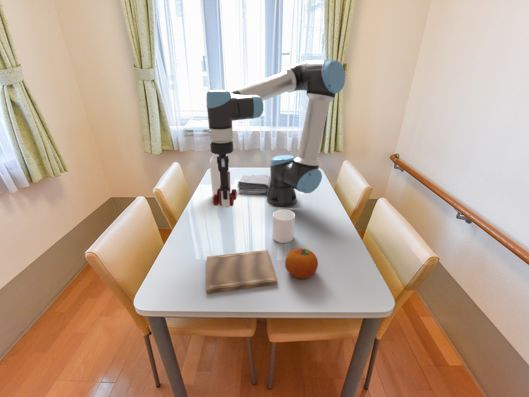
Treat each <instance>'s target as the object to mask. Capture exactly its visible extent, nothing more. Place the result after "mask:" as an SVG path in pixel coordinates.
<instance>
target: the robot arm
mask: <svg viewBox="0 0 529 397" xmlns="http://www.w3.org/2000/svg"><path fill="white" fill-rule="evenodd" d="M345 83H346V71H345V68H344V66H343V65H342V63H341V62H340V61H339V60H335V59H318V60H311V59H310V60H305V61H301V62H299V63H295V64H294V65H292V66H288V67H286V68H284V69H282V71H281V72H280V73H276V74H274V75H272V76H268V77H265V78H262V79H260V80H257V81H254V82H251V83H248V84H246V85H243V86H241V87H238V88H235V89H231V90H228V89H210V90H208V91H207V92H206V109H207V110H206V111H207V120H208V129H209V130H207V134H209V139H210V142H209V144H210V152H211V153H212V154H213V153H214V154H218V155H219V156H217V164H218V171H220V181H221V189H219V191H221V201H222V206H221V208H230V207H231V206H230V200H229V188H228V173H227V171H229V162H230V160H229V155H230V154H231V153H233V152H234V141H233V139H234V136H233V134H234V133H233V122H234V121H242V120H254V119H257V118H260V117H261V116H262V114H263V113H264V101H266V100H269V99H271V98H273V97H276V96H279V95H281V94H285V93H286V92H287V93H293V92H296V91H306V93H305V94H306V96H307V98H308V102H307V108H306V113H305V117H304V124H303V128H302V131H301V132H302V133H301V136H300V141H299V146H298V152H297V155H296V157H295V156H294V155H291V154H283V155H276V156H274V157H272V158H271V160H270V164H269V166H270V167H269V168H270V169H269V170H270V175H269V176H270V177H271V184H270V188H269V191H268V194H266V201H267V203H268V204H270V205H273V206H276V207H290V206H293V205H294V204H295V203H297V193H296V191H297V192H300V193H304V194H312V193H313V192H314V191H315V190H316V189H318V188H319V186H320V184H321V182H322V179H323V174H322V171H321V170H320V169H319V166H320V163H319V162H318V156H319V151H320V147H321V143H322V139H323V134H324V129H325V125H326V121H327V116H328V111H329V108H330V103H331V102H332V101H333V100H335V99H336V98H335V97H336V94H338V93H340V92H341V91H342V90H343V88H344V86H345ZM227 154H229V155H227ZM295 190H296V191H295Z"/></svg>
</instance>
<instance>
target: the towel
mask: <svg viewBox="0 0 529 397" xmlns="http://www.w3.org/2000/svg"><path fill="white" fill-rule="evenodd" d="M270 184H271V175H267V174H255V175H246V174H245V175H242V177H241V179H240V180H239V181H238V182H237V194H247V195H248V194H249V195H252V194H253V195H255V194H256V195H257V194H259V195H260V194H264V195H265V194H266V195H267V194H268V191H269V188H270Z"/></svg>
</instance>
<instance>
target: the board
mask: <svg viewBox="0 0 529 397" xmlns="http://www.w3.org/2000/svg"><path fill="white" fill-rule="evenodd" d="M205 281H206V283H205V287H206V288H205V292H206V294H214V293H220V292H228V291H238V290H243V289H244V290H245V289H250V288H251V289H252V288H260V287H268V286H275V285H278V278H277V275H276V272H275V269H274V265H273V262H272V259H271V256H270V253H269V250H268V249H266V250H264V249H263V250H258V251H257V250H256V251H249V252H248V251H246V252H239V253H228V254H220V255H210V256H206V280H205Z"/></svg>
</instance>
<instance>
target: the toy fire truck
mask: <svg viewBox="0 0 529 397" xmlns="http://www.w3.org/2000/svg"><path fill="white" fill-rule="evenodd" d="M227 173H228V188H229V200H230V207H233V206H234V202H235V201H236V200H237V195H238V190H237V189H236V188H232V189H231V172H230V171H229V170H228V171H227ZM220 189H221V185H220ZM212 204H213V206H221V207H222V201H221V191H219V189H218V190H217V194H215V195H214V197H213V196H212Z"/></svg>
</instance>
